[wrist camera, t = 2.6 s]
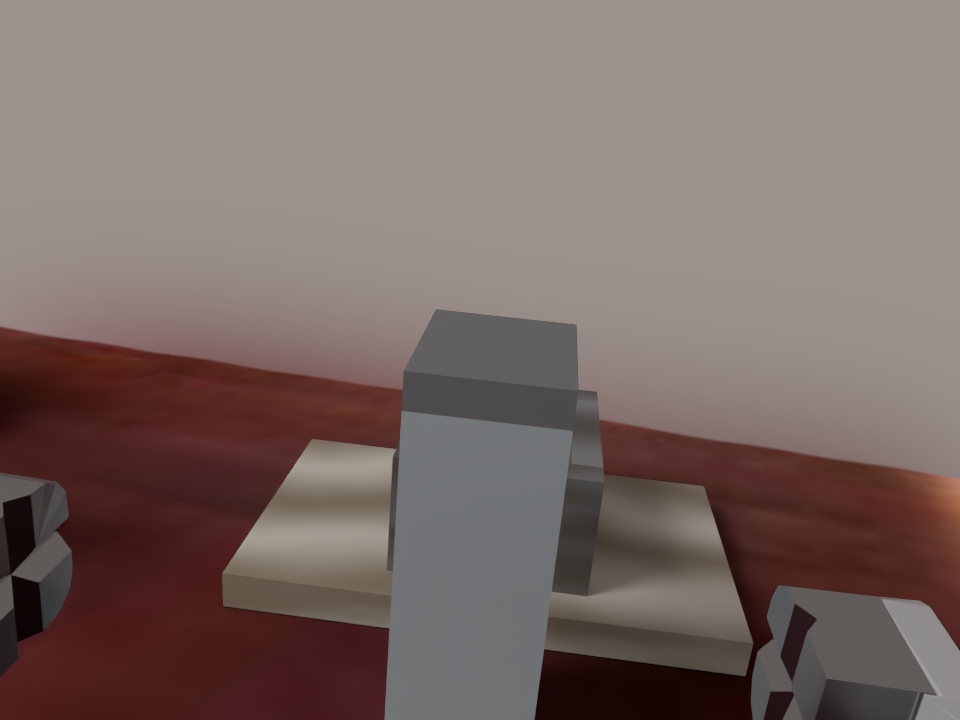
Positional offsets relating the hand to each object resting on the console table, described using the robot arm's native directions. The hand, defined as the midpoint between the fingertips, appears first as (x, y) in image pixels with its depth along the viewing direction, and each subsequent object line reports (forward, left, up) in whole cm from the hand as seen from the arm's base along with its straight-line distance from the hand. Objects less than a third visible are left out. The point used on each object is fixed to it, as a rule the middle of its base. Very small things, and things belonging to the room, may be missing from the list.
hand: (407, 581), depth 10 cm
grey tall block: (+10, -7, -15) cm, 20 cm away
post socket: (+19, -14, -15) cm, 29 cm away
